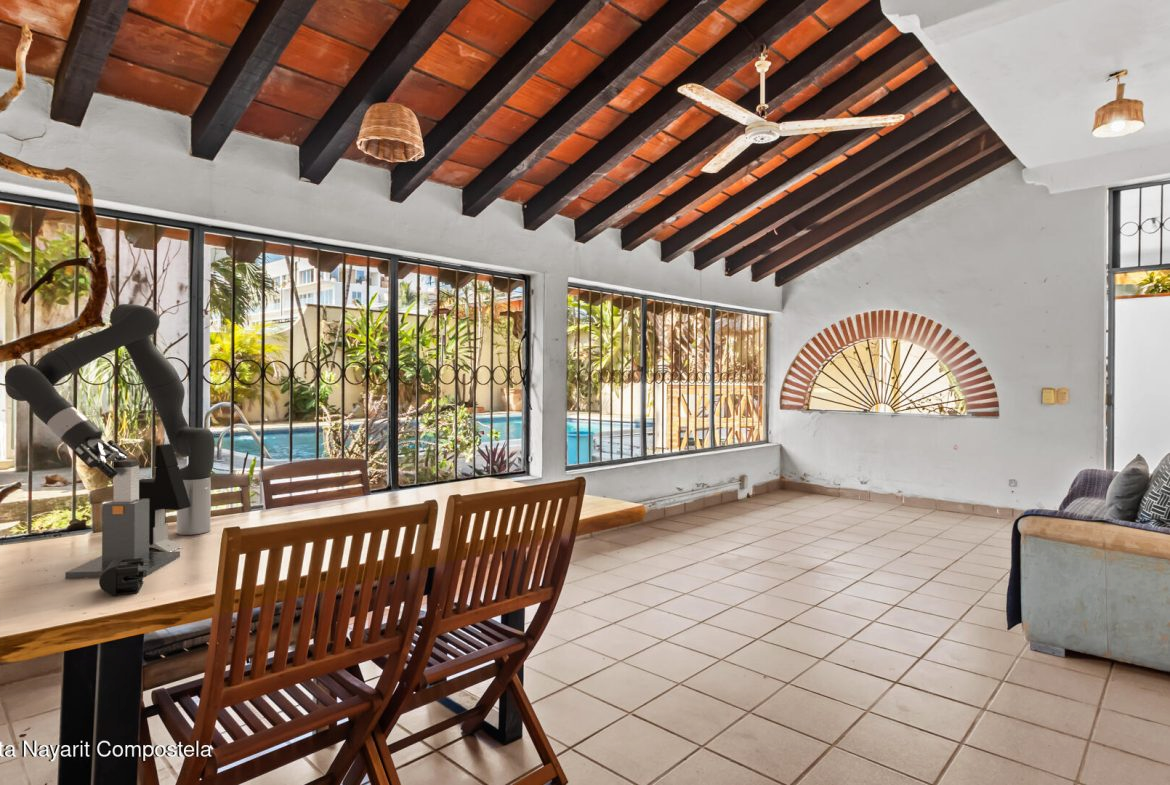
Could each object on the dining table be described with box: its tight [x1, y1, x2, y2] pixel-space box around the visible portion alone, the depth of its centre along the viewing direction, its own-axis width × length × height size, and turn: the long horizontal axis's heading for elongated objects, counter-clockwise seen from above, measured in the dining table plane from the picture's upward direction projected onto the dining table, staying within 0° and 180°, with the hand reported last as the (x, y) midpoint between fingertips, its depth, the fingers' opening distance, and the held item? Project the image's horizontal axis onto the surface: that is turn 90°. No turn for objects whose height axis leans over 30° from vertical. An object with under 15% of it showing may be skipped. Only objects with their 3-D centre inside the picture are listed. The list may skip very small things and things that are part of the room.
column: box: [112, 459, 140, 503], centre depth 167 cm, size 4×4×25 cm
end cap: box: [98, 557, 145, 597], centre depth 149 cm, size 10×7×7 cm
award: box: [139, 443, 191, 552], centre depth 185 cm, size 15×5×30 cm, turn 84°
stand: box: [64, 499, 181, 579], centre depth 167 cm, size 18×18×17 cm
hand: (124, 473), depth 167 cm, fingers open, 8 cm apart
